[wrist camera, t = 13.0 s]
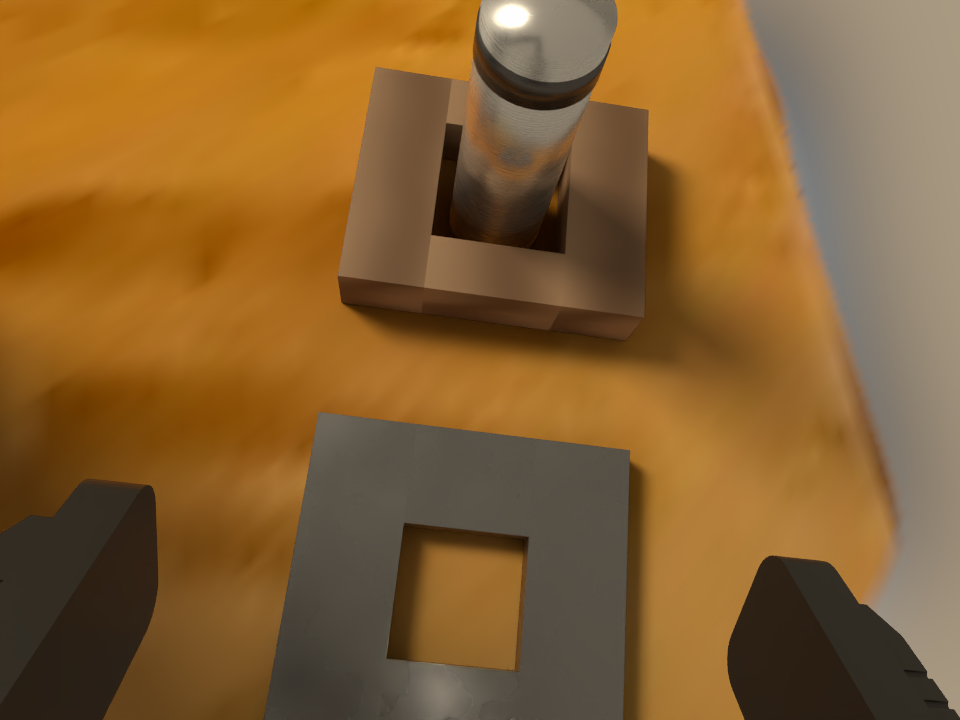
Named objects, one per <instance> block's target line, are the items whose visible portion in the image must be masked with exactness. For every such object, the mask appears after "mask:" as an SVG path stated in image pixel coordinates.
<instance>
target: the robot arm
mask: <svg viewBox="0 0 960 720" xmlns="http://www.w3.org/2000/svg"><path fill="white" fill-rule="evenodd" d="M157 589H158V559H157V530H156V502H155V494H154V491H153V488H152V487H151V486H149V485H142V484H132V483H123V482H114V481H105V480H96V479H86V480H84V481H82V482H81V483H80V484H79V485H78V486H77V488H76V489H75V490H74V491H73V493H72V494H71V495H70V496H69V498H68V499H67V500H66V502H65V503H64V504H63V505H62V507H61V508H60V509H59V510H58V512H57V513H56V514H55V515H54V517H53V518H51V517H42V516H32V515H30V516H29V517H27V518H26V519H24V520H22V521H21V522H19V523H17V524H16V525H14V526H13V527H11V528H9V529H8V530H6V531H4V532H3V533H1V534H0V720H103V718H104V716H105V714H106V712H107V710H108V708H109V705H110V703H111V701H112V699H113V697H114V695H115V693H116V691H117V689H118V687H119V685H120V683H121V681H122V679H123V677H124V675H125V673H126V671H127V669H128V667H129V665H130V663H131V661H132V659H133V657H134V655H135V653H136V651H137V649H138V647H139V645H140V643H141V641H142V639H143V637H144V635H145V633H146V631H147V628H148V626H149V623H150V620H151V617H152V614H153V610H154V606H155V602H156V596H157ZM727 665H728V674H729V679H730V683H731V687H732V689H733V692H734V694H735V697H736V699H737V702H738V704H739V707H740V709H741V712H742V714H743V717H744V719H745V720H960V717H959V716H958V715H957V713H956V712H955V710H953V709H949V707H948V700H947V699H946V698H945V696H944V695H943V693H942V692H941V690H940V689H939V688H938V686H937V685H936V683H935V682H934V681H933V679H928V678H927V671H926V669H925V668H924V666H923V665H922V664H921V662H920V661H919V659H918V658H917V657H916V655H915V654H914V652H913V651H912V650H911V648H910V647H909V645H908V644H907V642H906V641H905V640H904V638H903V637H902V636H901V635H900V634H899V633H898V632H897V631H895V630H894V629H893V628H892V627H891V626H890V625H889V624H888V623H887V622H885V621H884V620H883V619H882V618H881V617H880V616H879V615H877V614H876V613H875V612H874V611H873V610H872V609H871V608H869V607H868V606H867V605H864V604H859V603H858V602H857V600H856V599H855V597H854V596H853V594H852V593H851V591H850V590H849V588H848V587H847V585H846V584H845V582H844V581H843V579H842V578H841V576H840V575H839V573H838V572H837V571H836V569H835V568H834V567H833V566H832V565H831V564H830V563H828V562H825V561H818V560H808V559H799V558H790V557H781V556H769V557H767V558H765V559H764V560H763V562H762V563H761V564H760V566H759V569H758V571H757V573H756V576H755V578H754V581H753V583H752V586H751V588H750V591H749V593H748V596H747V598H746V600H745V603H744V605H743V608H742V610H741V613H740V615H739V618H738V620H737V623H736V625H735V628H734V630H733V633H732V635H731V638H730V641H729V646H728V656H727Z"/></svg>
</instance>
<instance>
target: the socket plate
mask: <svg viewBox="0 0 960 720" xmlns="http://www.w3.org/2000/svg"><path fill="white" fill-rule="evenodd" d="M629 464H630V450H623V449H614V448H606V447H598V446H590V445H582V444H574V443H566V442H557V441H549V440H541V439H533V438H525V437H517V436H509V435H500V434H492V433H484V432H476V431H468V430H460V429H452V428H443V427H435V426H427V425H419V424H411V423H403V422H395V421H386V420H378V419H370V418H362V417H354V416H346V415H338V414H330V413H321V412H319V413H318V419H317V424H316V430H315V436H314V441H313V447H312V452H311V458H310V464H309V469H308V475H307V480H306V486H305V492H304V497H303V503H302V508H301V514H300V520H299V525H298V531H297V536H296V542H295V547H294V553H293V559H292V564H291V570H290V575H289V581H288V587H287V592H286V598H285V603H284V609H283V615H282V620H281V626H280V631H279V637H278V643H277V648H276V654H275V659H274V665H273V671H272V676H271V682H270V687H269V693H268V698H267V704H266V710H265V715H264V720H623V704H624V664H625V624H626V584H627V544H628V504H629ZM403 526H406V527H415V528H424V529H433V530H442V531H451V532H460V533H468V534H477V535H486V536H495V537H504V538H513V539H522V540H524V552H523V566H522V580H521V593H520V607H519V621H518V635H517V648H516V662H515V671H513V670H503V669H493V668H483V667H473V666H463V665H453V664H443V663H433V662H422V661H412V660H402V659H392V658H386V657H387V650H388V642H389V634H390V626H391V619H392V611H393V603H394V596H395V588H396V580H397V572H398V565H399V557H400V549H401V542H402V534H403Z"/></svg>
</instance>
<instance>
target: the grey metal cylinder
mask: <svg viewBox="0 0 960 720" xmlns="http://www.w3.org/2000/svg"><path fill="white" fill-rule="evenodd" d="M616 26H617V8H616V4H615V1H614V0H481V6H480V8H479V11H478V16H477V23H476V29H475V36H474V43H473V61H472V68H471V74H470V81H469V88H468V95H467V101H466V108H465V115H464V122H463V128H462V135H461V142H460V149H459V156H458V162H457V169H456V176H455V183H454V189H453V196H452V203H451V210H450V226H451V230H452V232H453V235H454V236H455V238H456V239H462V240H469V241H476V242H483V243H490V244H497V245H504V246H511V247H518V248H525V249H529V248H530V247H531V246H532V245H533V243H534V242H535V240H536V238H537V236H538V233H539V230H540V228H541V225H542V223H543V220H544V217H545V215H546V212H547V209H548V207H549V204H550V201H551V199H552V196H553V193H554V191H555V188H556V186H557V183H558V180H559V178H560V175H561V172H562V170H563V167H564V164H565V162H566V159H567V156H568V154H569V151H570V148H571V146H572V143H573V141H574V138H575V135H576V133H577V130H578V127H579V125H580V122H581V119H582V117H583V114H584V111H585V109H586V106H587V104H588V101H589V98H590V96H591V93H592V90H593V88H594V87H595V85H596V83H597V81H598V79H599V76H600V74H601V71H602V68H603V66H604V63H605V61H606V58H607V55H608V53H609V50H610V46H611V40H612V37H613V35H614V32H615V29H616Z"/></svg>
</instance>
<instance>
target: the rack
mask: <svg viewBox="0 0 960 720" xmlns="http://www.w3.org/2000/svg"><path fill="white" fill-rule="evenodd" d="M468 88H469V82H468V81H461V80H455V79H449V78H442V77H436V76H430V75H423V74H417V73H411V72H404V71H398V70H392V69H385V68H379V67H376V68H375V73H374V79H373V84H372V90H371V95H370V101H369V106H368V112H367V117H366V123H365V128H364V134H363V139H362V145H361V150H360V156H359V161H358V167H357V172H356V178H355V183H354V189H353V194H352V200H351V205H350V211H349V216H348V222H347V227H346V233H345V238H344V244H343V249H342V255H341V260H340V266H339V271H338V281H339V288H340V295H341V302H342V303H348V304H355V305H363V306H370V307H378V308H385V309H393V310H400V311H407V312H415V313H422V314H430V315H437V316H445V317H452V318H460V319H467V320H475V321H482V322H490V323H497V324H504V325H512V326H519V327H527V328H534V329H542V330H549V331H557V332H564V333H572V334H579V335H587V336H594V337H601V338H609V339H616V340H624V341H626V340H627V338H628V337H629V336H630V335H631V333H632V332H633V331H634V330H635V329H636V327H637V326H638V325H639V324H640V322H641V321H642V320H643V319H644V318H645V266H646V214H647V161H648V110H645V109H638V108H632V107H626V106H619V105H613V104H607V103H600V102H594V101H588V104H587V106H586V109H585V111H584V114H583V117H582V119H581V122H580V125H579V127H578V130H577V133H576V135H575V138H574V141H573V143H572V146H571V148H570V151H569V154H568V156H567V159H566V162H565V164H564V167H563V170H562V172H561V175H560V178H559V192H558V207H557V222H556V236H555V251H554V252H547V251H539V250H532V249H525V248H518V247H511V246H504V245H497V244H490V243H483V242H476V241H469V240H462V239H455V238H448V237H441V236H434V235H432V231H433V223H434V216H435V208H436V201H437V193H438V186H439V179H440V171H441V164H442V158H445V159H451V160H458V156H459V149H460V142H461V135H462V128H463V122H464V115H465V108H466V101H467V95H468Z"/></svg>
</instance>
